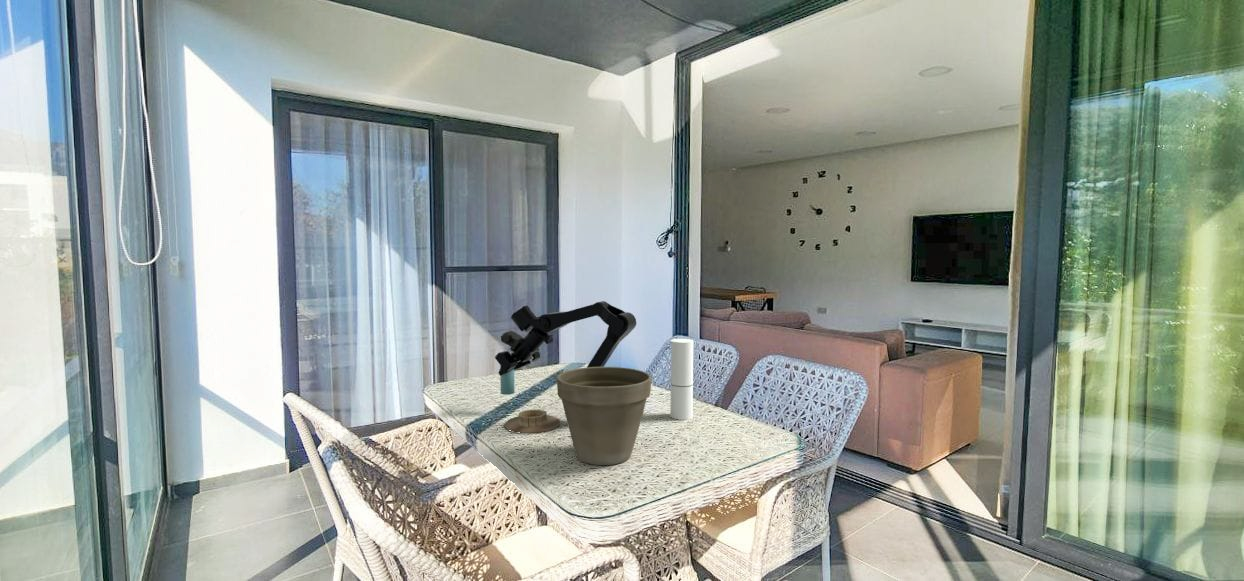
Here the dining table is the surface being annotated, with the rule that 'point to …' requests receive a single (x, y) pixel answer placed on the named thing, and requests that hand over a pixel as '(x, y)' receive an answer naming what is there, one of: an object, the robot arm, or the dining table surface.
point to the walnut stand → (532, 422)
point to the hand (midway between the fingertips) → (503, 372)
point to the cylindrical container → (681, 379)
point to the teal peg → (507, 383)
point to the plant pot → (603, 411)
